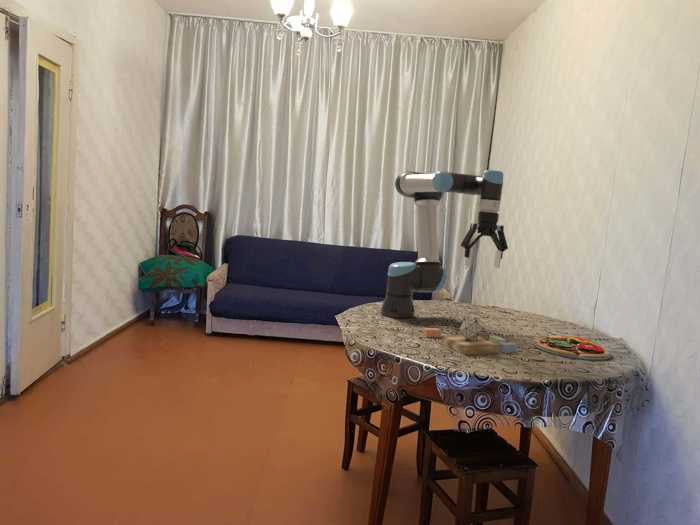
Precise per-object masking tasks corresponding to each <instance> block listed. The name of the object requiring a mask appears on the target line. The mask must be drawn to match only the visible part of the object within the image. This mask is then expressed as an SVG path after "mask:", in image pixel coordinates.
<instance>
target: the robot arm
mask: <svg viewBox="0 0 700 525" xmlns="http://www.w3.org/2000/svg"><path fill="white" fill-rule="evenodd" d="M395 178H396V179H395V181H394V186H395V190H396V191H397V193H398V194H399V195H401V196H402V197H405V198H409V199H410V198H411V199H413V203H414V205H415V206H416V207H417V255H418V256H417V259H416V261H415V262H412V261H400V262H399V261H398V262H393V263H390V265H389V266H388V270H387V281H386V294H385V298H384V300H383V302H382V305H381V307H380V313H379V314H380V315H381V316H386V317H389V318H394V319H395V318H396V319H413V318H415V314H416V311H415V305H414V301H413V295H414V293H438V292H441V291H442V290H443V288H444V286H445V285H446V281H447V271H446V268H444V267H443V266H442V262H441V261H440V259H438V221H437V220H438V219H437V217H438V216H437V215H438V214H437V206H438V205H439V204H440V203H441V202H440V201H441V200H442V199H443V198H444V196H445V195H444V194H445V193H454V194H455V193H456V194H462V195H470V196H471V195H472V196H480V198H479V206H478V207H479V208H478V209H479V210H480V211H478V217H477V220H478V222H477V223H475V222H471V223H470V224H469V225H470V226H469V229H468V231H467V233H466V234H465V236H464V238H463V239H462V242H461V243H460V247H463V249H464V255H463V256H464V258H465V260H464V261H465V262H464V266H465V267H469V268H470V267H471V266H472V256H473V249H472V248H473V247H474V245H475V244H476V243H477V242H478V241H479V240H480V239H481V238H482V237H490V238H491V240H492V242H493V244H494V245H495V248H496V249H497V250H496V249H495V254H494V260H493V268H497V269H500V268H501V260H502V259H503V254H504V252H505V251H506V250H508V249H509V246H508V243H507V240H506V236H505V231H504V225H502V224H498V222H499V216H500V215H499V212H500V209H501V200H502V192H503V185H504V172H503V171H501V170H493V169H486V170H484V171H483V174H482V175H477V174H476V175H475V174H474V175H473V174H465V173H458V172H457V173H456V172H449V171H437V172H435V173H434V172H433V173H428V172H427V173H426V172H417V171H410V170H409V171H403V172H401V173H400V174H398V175H397V177H395ZM497 224H498V225H497Z"/></svg>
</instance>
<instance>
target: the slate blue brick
mask: <svg viewBox="0 0 700 525" xmlns="http://www.w3.org/2000/svg"><path fill="white" fill-rule="evenodd" d="M517 346H518V344H517V343H515V342H511V341H506V342H505V343H499V345H498V350H497V352H500V353H503V354H508V353H509V354H510V353H516V352H517Z"/></svg>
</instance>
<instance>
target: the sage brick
mask: <svg viewBox="0 0 700 525" xmlns="http://www.w3.org/2000/svg"><path fill="white" fill-rule="evenodd" d="M488 341H490V342H492V343H495V344H497V345H499V343H505V342H507V339H505V338H502V337H500V336H497V335H489V337H488Z"/></svg>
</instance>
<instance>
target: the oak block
mask: <svg viewBox="0 0 700 525" xmlns="http://www.w3.org/2000/svg"><path fill="white" fill-rule="evenodd" d="M477 339H478V341H477ZM477 339H467V341H466V338H464V336H463V335H462V334H459V335H458V334H457V335H456V334H455V335H452V334H451V335H441V341H440V342H441V345H442V344H443V345H442V346H445V347H447V348H449V349H451V350H453V349H454V350H453V351H455V350H456V352H458V353H460V354H462V353H463V354H462V355H464V354H468V355H485V354H486V355H487V354H488V355H490V354H498V345H497V344H495V343H492V342H490V341H489V340H487V339H485V338H482V337H480V336H478V338H477Z"/></svg>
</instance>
